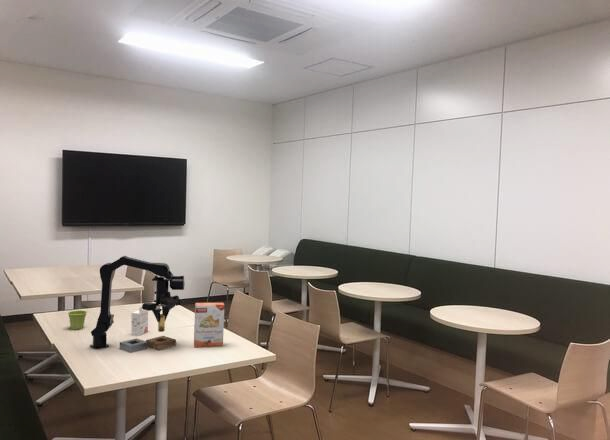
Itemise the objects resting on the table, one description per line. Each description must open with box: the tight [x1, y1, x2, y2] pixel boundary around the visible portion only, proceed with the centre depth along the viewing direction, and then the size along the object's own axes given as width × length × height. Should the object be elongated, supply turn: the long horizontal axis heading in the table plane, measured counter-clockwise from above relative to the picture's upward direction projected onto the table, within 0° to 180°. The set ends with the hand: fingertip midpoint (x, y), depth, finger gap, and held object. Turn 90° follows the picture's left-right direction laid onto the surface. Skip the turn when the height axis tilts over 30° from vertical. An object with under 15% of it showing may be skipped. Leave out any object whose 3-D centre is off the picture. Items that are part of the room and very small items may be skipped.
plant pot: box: [67, 310, 88, 331], centre depth 253 cm, size 9×9×9 cm
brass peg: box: [157, 313, 166, 333], centre depth 228 cm, size 3×3×8 cm
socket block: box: [119, 337, 149, 354], centre depth 223 cm, size 9×9×3 cm
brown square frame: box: [145, 335, 177, 351], centre depth 228 cm, size 10×10×3 cm
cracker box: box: [193, 302, 225, 348], centre depth 232 cm, size 14×6×21 cm, turn 105°
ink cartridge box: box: [130, 306, 149, 336], centre depth 248 cm, size 9×5×15 cm, turn 168°
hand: (161, 321), depth 228 cm, fingers closed on brass peg, 3 cm apart
